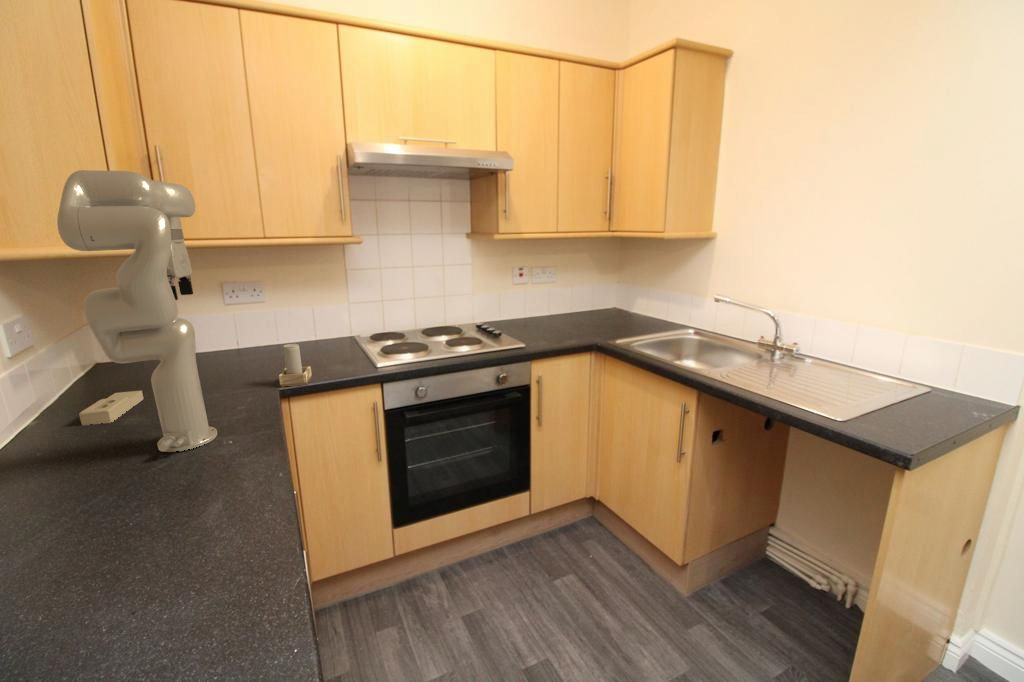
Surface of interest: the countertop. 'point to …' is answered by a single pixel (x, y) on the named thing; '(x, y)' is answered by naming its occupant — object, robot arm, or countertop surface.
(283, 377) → the can holder block
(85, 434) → the countertop surface
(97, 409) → the electrical outlet
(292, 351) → the beverage can
